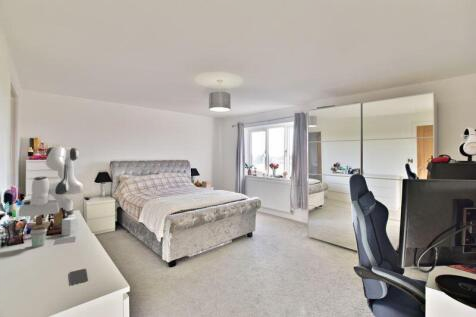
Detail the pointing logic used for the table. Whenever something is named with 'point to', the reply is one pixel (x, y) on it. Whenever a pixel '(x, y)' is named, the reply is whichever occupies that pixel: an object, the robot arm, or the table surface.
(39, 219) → the lid
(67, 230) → the supplement box
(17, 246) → the table surface
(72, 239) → the mat
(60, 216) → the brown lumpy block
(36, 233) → the coffee cup
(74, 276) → the smartphone
